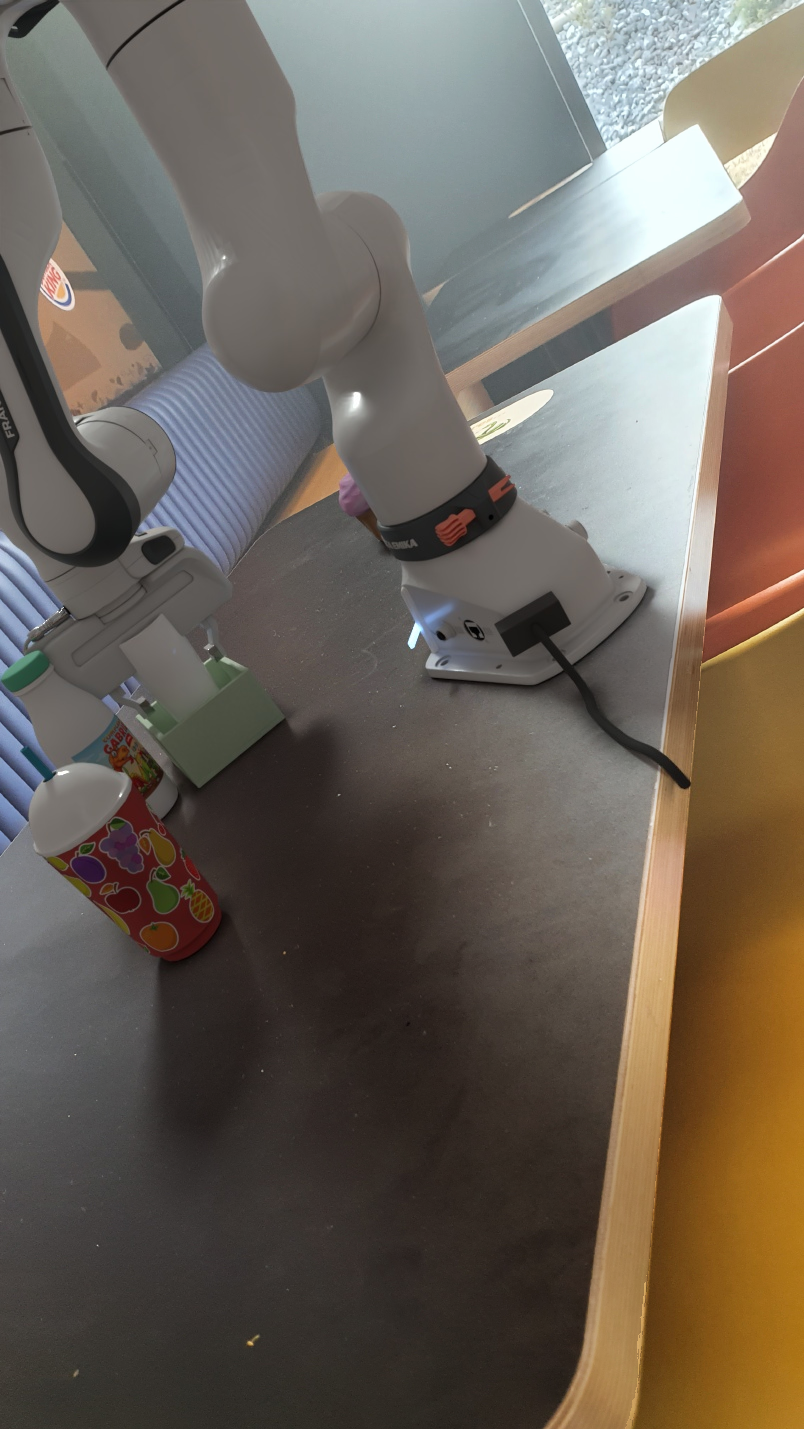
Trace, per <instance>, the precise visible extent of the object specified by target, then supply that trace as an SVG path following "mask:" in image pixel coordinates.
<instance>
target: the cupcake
mask: <svg viewBox="0 0 804 1429" xmlns="http://www.w3.org/2000/svg"><path fill="white" fill-rule="evenodd" d="M338 485H339V489H338V490H339V493H338V494H339V496H338V503H339V505H340V508H341V510H342V511H343V512H344V514H347V515H348V516H349V517H351V518H353V517H354V518H356V519H357V520H358V521H359V523H361V524H362V525H363V526H364V527H365V528H366V529H367V530H368V531H369V532H370V534H372V535H373V536H374V537H375V538H376V539H377V540H379V541H382V542H384V541H383V539H382V536H381V533H380V531H379V530H378V528H377V520H378V519H377V518H376V516H375V514H374V513H373V511H372V509H371V508H370V506H369V505H368V503H367V501H366V500H365V498H364V496H363V495H362V493H361V491H360V490H359V488H358V486H357V485H356V483H355V482H354V480H353V478H352V477H351V475H350V473H349V472H347V473H346V474H345V475H344V476H342V477H341V478H340V480H339V483H338Z"/></svg>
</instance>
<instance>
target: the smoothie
mask: <svg viewBox="0 0 804 1429" xmlns="http://www.w3.org/2000/svg"><path fill="white" fill-rule="evenodd" d="M19 752H20V753H21V754H22V755H23V756H24V758H25V759H26V760H27V761H28V762H29V763H30V764H31V765H32V767H33V768H35V770H36V771H37V772H38V773H39V774H40V775H41V776H42V777H43V779H42V780H41V781H40V782H39V784H38V785H37V787H36V789H35V790H34V792H33V794H32V796H31V799H30V803H29V806H28V815H27V819H28V827H29V829H30V832H31V835H32V838H33V845H32V847H33V849H34V852H35V854H37V855H38V856H39V857H41V858H43V859H44V860H45V861H46V863H48V865H50V866H51V867H52V868H53V869H54V870H55V871H57V873H59V874H60V875H61V876H62V877H63V878H64V879H66V881H67V882H69V883H70V884H71V885H72V886H73V887H74V888H75V889H77V890H78V891H79V892H80V893H81V894H82V895H83V896H84V897H85V898H86V899H88V901H90V902H91V903H92V904H93V905H94V906H95V907H96V908H97V909H98V910H100V911H101V912H102V914H104V915H105V916H106V917H107V918H109V919H110V921H112V922H113V923H114V924H115V925H116V926H118V927H119V929H121V930H122V931H123V932H124V933H125V934H127V936H128V937H129V938H131V939H132V940H133V941H134V942H135V943H137V944H138V946H140V947H141V948H142V949H143V950H144V951H145V952H146V953H147V954H149V955H150V956H152V957H155V958H162V959H163V960H165V961H168V962H177V961H181V960H184V959H185V958H188V957H190V956H191V955H193V954H194V953H196V952H197V951H199V950H200V949H201V948H203V946H204V945H206V944H207V943H208V942H209V941H210V939H211V938H212V937H213V935H214V934H215V932H216V930H217V929H218V927H219V926H220V923H221V919H222V908H220V906H219V896H218V894H217V892H216V891H215V889H214V888H213V887H212V886H211V885H210V883H209V882H208V880H207V879H206V877H205V876H204V875H203V874H202V873H201V871H200V870H199V869H198V868H197V866H196V865H195V864H194V862H193V861H192V859H191V858H190V857H189V856H188V853H186V851H185V850H184V849H183V848H182V846H181V845H180V843H179V842H178V841H177V839H176V838H175V837H174V835H173V834H172V833H171V832H170V831H169V829H168V828H167V826H166V825H165V824H164V822H163V821H162V819H161V820H160V819H159V817H158V816H157V815H156V813H155V812H154V811H153V809H152V808H151V807H150V805H149V804H148V803H147V801H146V800H145V799H144V797H143V796H142V795H141V793H140V792H139V791H138V789H137V788H136V787H135V786H134V785H133V784H132V781H131V779H130V778H129V776H128V775H127V774H126V773H123V772H116V771H115V770H113V769H110V768H108V767H106V766H103V765H99V764H94V763H83V762H81V763H73V764H70V765H66V766H63V767H61V768H59V769H57V768H55V769H54V770H53V771H52V770H51V769H50V768H49V767H48V766H47V765H46V764H45V763H44V762H43V761H42V759H40V758H39V756H38V755H37V754H36V753H35V752H34V751H33V750H32V749H31V748H30V747H29V746H28V745H25V746H24V747H22V748H21V749H20V750H19Z"/></svg>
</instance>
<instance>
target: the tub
mask: <svg viewBox="0 0 804 1429" xmlns="http://www.w3.org/2000/svg"><path fill="white" fill-rule="evenodd" d="M203 664H204V665H205V667H206V668H207V670H208V672H209V673H210V675H211V676H212V678H213V679H214V681H215V683H216V684H217V686H218V687H219V689H220V690H219V691H218V692H217V693H216V694H214V695H213V696H212V697H211V698H209V699H208V700H207V701H206V702H204V703H203V704H202V705H201V706H199V707H198V708H197V709H196V710H194V711H193V712H192V713H191V714H189V715H188V716H187V717H186V718H184V719H183V720H182V721H181V722H179V723H177V722H176V721H175V720H174V719H173V718H172V717H171V716H170V715H169V714H168V713H167V712H166V711H165V710H164V709H163V708H162V707H161V705H160V704H159V703H158V702H157V701H156V700H154V702H152V703H150V705H151V706H152V707H153V708H154V709H155V712H154V713H153V714H151V715H150V716H149V717H148V718H147V719H145V720H144V719H143V718H142V717H141V716H140V715H139V713H138V714H136V716H135V719H136V720H137V721H138V723H139V724H140V725H141V726H142V727H143V729H145V731H146V732H147V733H148V734H149V735H150V736H151V738H152V739H153V741H155V743H156V744H157V745H158V747H160V749H161V750H162V752H164V753H165V755H166V756H167V757H168V758H169V760H170V761H171V762H172V763H173V764H174V765H175V766H176V767H177V768H178V769H179V770H180V771H181V773H183V774H184V775H185V776H186V777H187V778H188V779H189V780H190V781H191V782H192V783H193V784H194V785H195V786H196V787H197V788H198V789H201V788H202V787H203V786H204V785H206V784H207V783H208V782H209V781H210V780H212V779H213V778H214V777H215V776H216V775H218V773H220V772H221V771H222V770H223V769H225V768H226V767H227V766H229V765H230V764H231V763H232V762H233V761H234V760H236V759H237V758H238V757H239V756H240V755H242V754H243V753H245V751H247V750H248V749H249V748H251V746H253V745H254V744H255V743H257V742H258V741H259V740H260V739H262V737H263V736H265V735H266V734H267V733H268V732H270V731H271V730H272V729H274V728H275V727H276V726H277V725H278V724H279V723H280V722H282V721H283V720H284V719H285V718H286V717H285V715H284V714H283V713H282V711H281V710H280V708H279V706H278V705H277V704H276V703H275V701H274V700H273V699H272V698H271V696H270V694H269V693H268V692H267V690H266V689H265V688H264V687H263V686H262V684H261V683H260V681H259V680H258V679H257V677H256V676H255V674H254V673H253V672H252V671H251V669H250V668H248V667H245V666H244V665H242V664H240V663H238V662H236V661H234V660H232V659H230V658H229V657H227V656H225V657H224V658H222V659H221V660H220V661H218V662H217V663H216V662H214V661H213V660H212V659H211V658H210V657H209V658H208V659H207V660H206V661H204V662H203Z"/></svg>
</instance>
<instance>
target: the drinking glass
mask: <svg viewBox="0 0 804 1429" xmlns="http://www.w3.org/2000/svg"><path fill="white" fill-rule="evenodd" d="M119 647H120V649H121V650H122V651H123V653H124V654H125V655H126V657H127V658H128V660H129V661H130V662H131V663H132V665H133V666H134V667H135V669H136V671H137V672H136V673H135V674H134V675H133V676H132V678H133V679H134V680H135V681H136V682H137V683H138V684H139V685H140V686H141V687H142V688H143V689H144V690H145V691H146V692H147V693H148V695H149V696H150V697H152V698H153V699H154V701H157V702H158V703H159V704H160V705H161V707H162V708H163V709H164V710H165V711H166V712H167V713H168V714H169V715H170V716H171V717H172V718H173V719H174V720H175V721H176V722H177V723H179V722H181V721H182V720H183V719H184V718H186V717H187V716H188V715H189V714H191V713H192V712H193V711H194V710H196V709H197V708H198V707H199V706H201V705H202V704H203V703H204V702H206V701H207V700H208V699H209V698H211V697H212V696H213V695H214V694H216V693H217V692H218V691H219V690H220V689H219V687H218V686H217V684H216V683H215V681H214V679H213V678H212V676H211V675H210V673H209V672H208V670H207V668H206V667H205V665H204V664H203V663H204V662H203V660H202V659H201V657H200V655H199V654H198V652H197V651H196V650H195V648H194V646H193V644H192V643H191V641H190V640H189V638H188V637H187V636H186V635H184V636H183V637H182V636H181V635H180V634H179V633H178V632H177V631H176V629H175V628H174V627H173V626H172V624H171V623H170V622H169V621H168V620H167V618H166V617H165V616H164V615H163V614H162V613H161V614H159V616H158V617H157V618H156V619H155V620H154V621H153V622H152V623H151V624H150V625H149V626H148V627H147V628H145V629H144V630H143V631H141V632H140V633H139V634H137V635H136V636H134V637H133V638H131V639H129V640H128V641H126V642H124V643H122V644H120V645H119Z"/></svg>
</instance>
